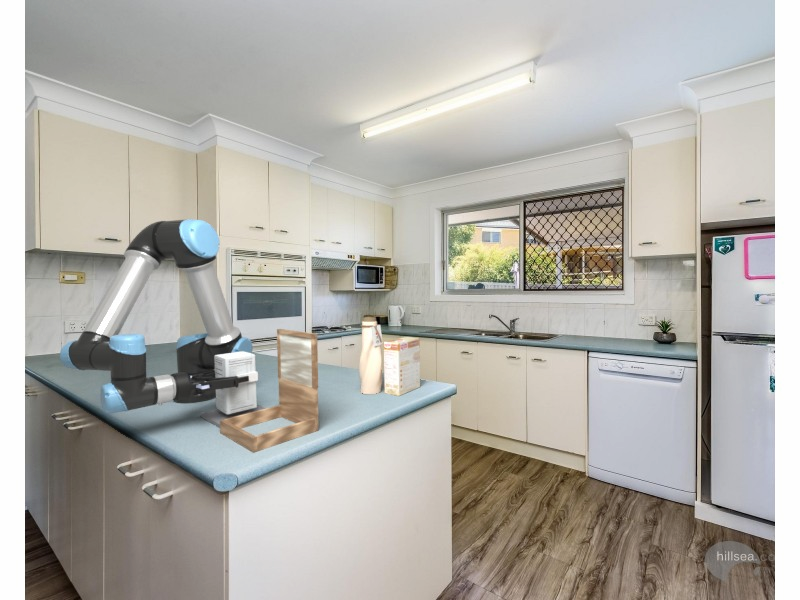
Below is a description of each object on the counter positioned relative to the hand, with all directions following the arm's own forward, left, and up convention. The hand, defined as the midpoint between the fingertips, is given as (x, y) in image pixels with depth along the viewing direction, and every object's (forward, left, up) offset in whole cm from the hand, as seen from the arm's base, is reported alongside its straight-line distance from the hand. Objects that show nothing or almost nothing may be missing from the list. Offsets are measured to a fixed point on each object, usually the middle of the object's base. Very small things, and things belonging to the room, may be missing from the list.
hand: (249, 373), depth 124 cm
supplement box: (-2, -4, -10) cm, 11 cm away
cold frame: (+15, -14, -12) cm, 24 cm away
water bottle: (+33, +29, -13) cm, 45 cm away
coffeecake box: (+44, +33, -13) cm, 56 cm away
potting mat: (-2, -4, -12) cm, 13 cm away
